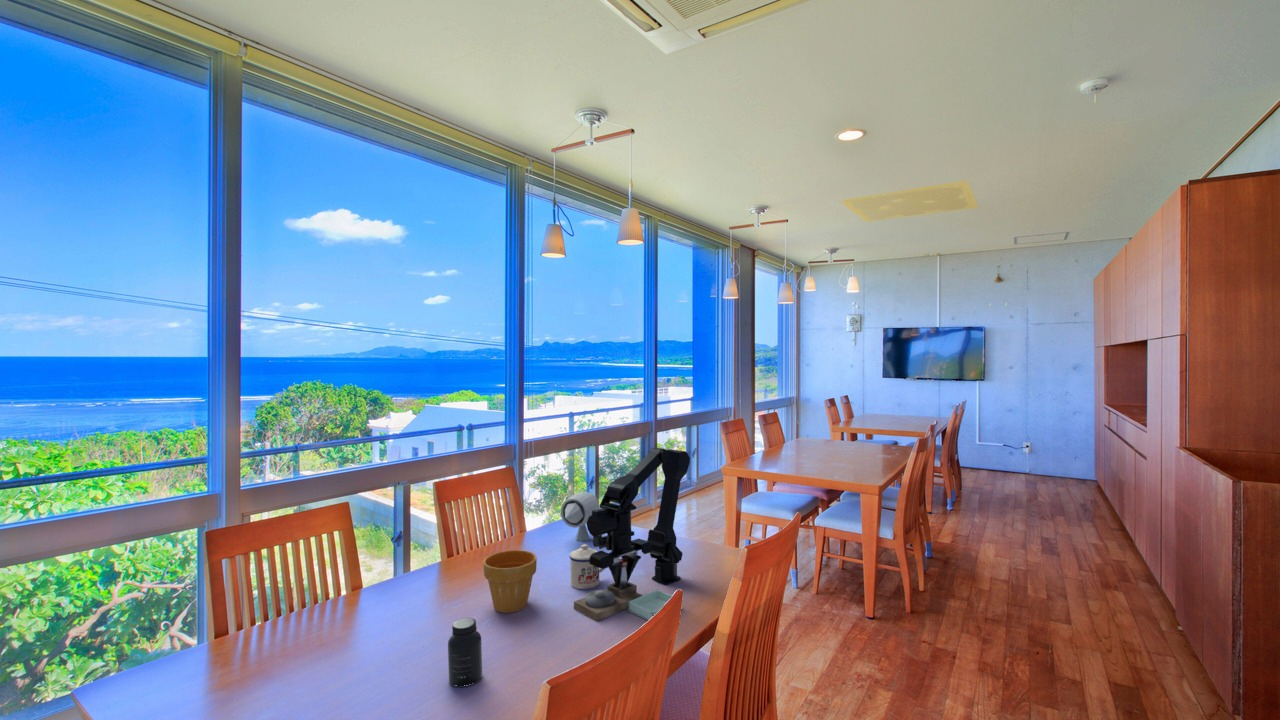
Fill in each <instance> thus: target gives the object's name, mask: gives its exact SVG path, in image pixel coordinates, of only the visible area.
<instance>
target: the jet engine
mask: <svg viewBox="0 0 1280 720" xmlns="http://www.w3.org/2000/svg"><path fill="white" fill-rule="evenodd" d="M599 506H600V503H599V500H598V498H597V496H596V495H595V494H593V493H592V492H588V491H584V492H583V491H581V492H577V493H576V494H573V495H571V496H570V497H569V498H567V499H566V500H565V501H564V502H563V503H562V504H561V507H560V517H561V520H562V522H564V524H565V525H566V526H568V527H570V528H573V529H574V528H578V530H577V532H576V536H575V541H576V542H581V543H583V542H588V541H590V540H591V536H590V533H589V531H588V529H587V521H588V518H589V516H591V515H592V510H598V509H600V507H599Z"/></svg>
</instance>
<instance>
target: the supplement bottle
mask: <svg viewBox="0 0 1280 720" xmlns="http://www.w3.org/2000/svg"><path fill="white" fill-rule="evenodd" d="M451 628H452V630H451V632H452V633H451V634H452V635H451V636H450V637H449V639H448V640H447V659H448V682H449V684H450V685H452V684H453V685H457V686H464V685H465V686H466V685H469V684H472V683H474V684H476V683H478V682H479V681H480V680H481V678H482V675H483V657H482V656H483V652H482V651H483V650H482V648H483V647H482V635H481V634H480V632H479V631H478V630H477V620H476V619H475V618H473V617H463V618H460V619H457V620H455V621H454V622H453V623H452V626H451ZM475 682H476V683H475ZM453 685H452V686H453ZM472 685H473V684H472ZM466 687H467V686H466Z"/></svg>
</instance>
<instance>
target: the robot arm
mask: <svg viewBox="0 0 1280 720" xmlns="http://www.w3.org/2000/svg"><path fill="white" fill-rule="evenodd" d="M690 463H691V457H690V456H689V454H688V452H687V451H685V450H678V449H670V448H668V449H666V448H662V447H652V448H651V449H650V450H649V451H648V453H647V454H646V455H645V456H644V457H643V459H641V460H640V461H639V462H638V463H637V464H636V465H635V466H634V467H633V468H632V469H631V470H630V471H629V472H628V473H627V474H625V475H623V476H620V477H617V478H616V479H615V480H613V481H612V482H610V483H609V484H608V486H607V487H606V491H605V493H604V495H603V497H602V499H601V502H600V503H599V509H598V510H592V515H591V516H589V518H588V521H587V523H586V528H587V531H588V534H589V535H591V536H592V538H593V539H592V544H593V546H594V548H598V549H599V550H597V551H598V552H595V553H592V554H591V555H590V564H591V565H594V566H596V567H598V568H599V569H604V570H605V569H607V568H608V569H609V571H610V573H611V575H612V578H613V583H615V584H616V585H617V586H619V584H620V579H621V572H622V565H623V564H622V563H620V562H619V559H620V558H621V559H627V560H628V565H627V582H630V581H629V580H630V578H631V576H632V574H633V571H634V569H635V568H636V566H637V564H638V562H639V560H641V559H642V556H641V555H639V554H638V551H641V553H642V554H643V555H646V554H649V555H650V559H655V563H654V564H655V565H654V576H652V577H651V579H652V581H653V580H654V581H657V582H658V583H660V584H662V585H663V584H664V585H669V584H673V583H674V582H677V581H679V580H681V579H682V577H681V576H679V575H678V564H679V563H680V562H681V561H682V558H683V552H682V551H681V550H680V549H679V547H677V535H676V531H675V530H674V525H675V520H676V519H675V518H676V511H677V505H678V500H679V499H678V498H679V495H680V494H679V492H680V489H681V488H680V487H681V482H682V481H681V480H682V479H684V477H685V476H686V474H687V473H688V470H689V466H690ZM660 466H661V470H662V473H663V475H664V481H663V486H662V493H661V500H660V505H659V511H658V516H657V523H656V525H655V527H654V528H653V529H649V530H648V536H647V540H644V539H642V538H636V539H633V540H632V536H635V531H633V530H632V511H634V510H635V511H636V509H637V506H636V505H634V503H633V501H635V499H636V498H637V496H638V494H639V490H640V487H641V485H642V484H643V483H644V482H646V481H647V479H649V478H650V477H651V475H652V474H653V473H654V472H655V471H656V470H657V469H658V468H659V467H660ZM605 534H606V535H605ZM602 549H606V551H610V552H606V551H604V550H602Z"/></svg>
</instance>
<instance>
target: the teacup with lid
mask: <svg viewBox="0 0 1280 720" xmlns="http://www.w3.org/2000/svg"><path fill="white" fill-rule="evenodd" d="M598 551H599V550H597V549H595V548H592V547H589V545H588V544H585V543H584V544H582V545H581V547H579V548H578V549H574V550H573V551H571V552H570V554H569V560H570V565H569V566H570V568H569V569H570V586H571V587H573V588H575V589H578V590H587V589H588V590H590V589H593V588H596V587H597V586H599V584H600V573H602V572H603V571H605V569H601V568H598V567H596V566H594V565H591V564H590V555H591V554H592V553H595V552H598Z"/></svg>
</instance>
